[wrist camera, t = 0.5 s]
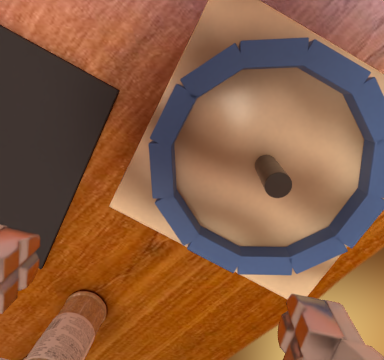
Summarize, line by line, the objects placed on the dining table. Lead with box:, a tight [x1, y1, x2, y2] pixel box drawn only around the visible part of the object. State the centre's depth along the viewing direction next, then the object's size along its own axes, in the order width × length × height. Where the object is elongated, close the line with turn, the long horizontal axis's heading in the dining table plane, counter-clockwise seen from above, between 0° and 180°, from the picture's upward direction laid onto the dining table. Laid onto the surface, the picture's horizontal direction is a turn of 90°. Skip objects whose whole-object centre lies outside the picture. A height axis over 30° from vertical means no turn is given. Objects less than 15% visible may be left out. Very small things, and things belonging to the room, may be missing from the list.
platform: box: [109, 0, 384, 299], centre depth 22 cm, size 18×18×9 cm
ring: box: [148, 37, 384, 275], centre depth 21 cm, size 17×17×2 cm
